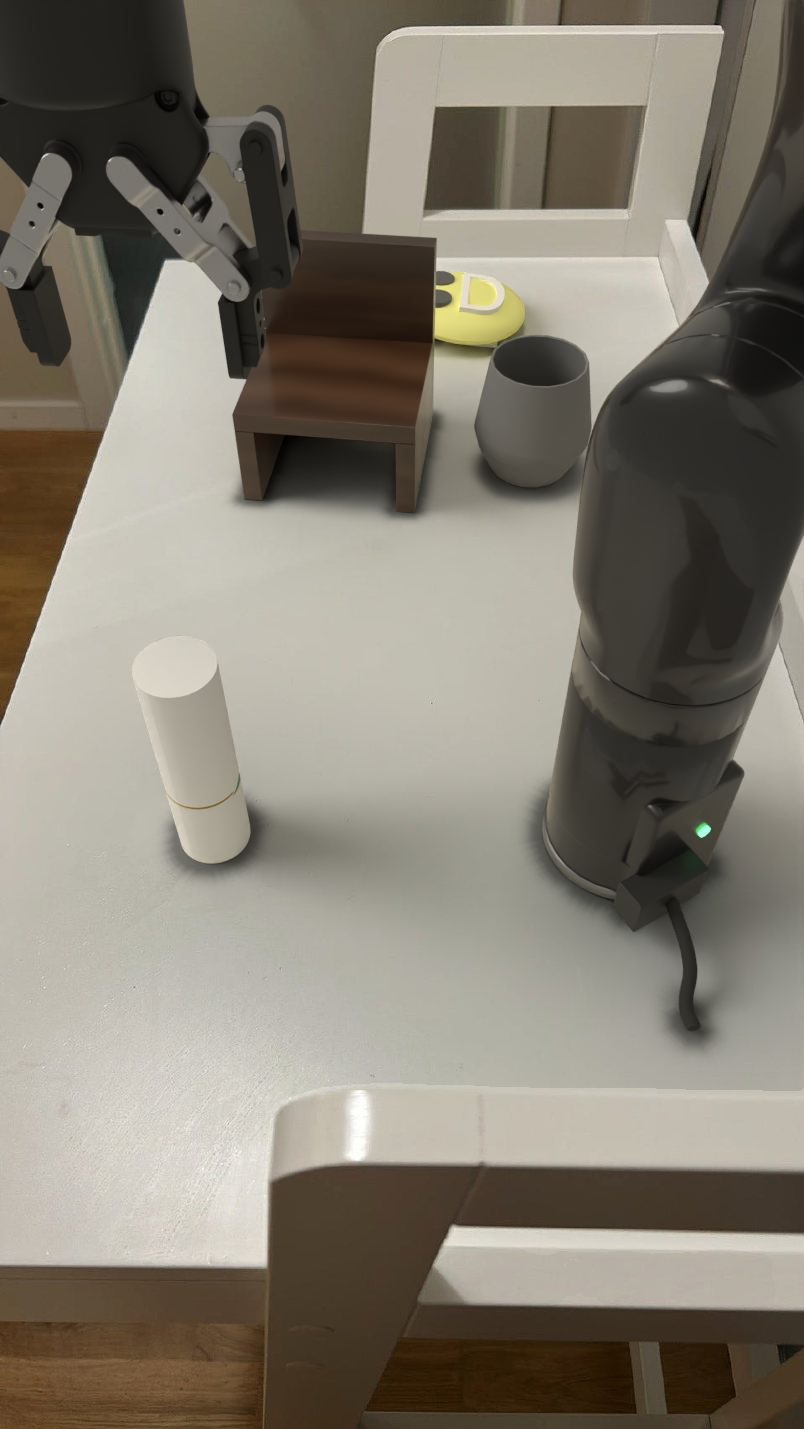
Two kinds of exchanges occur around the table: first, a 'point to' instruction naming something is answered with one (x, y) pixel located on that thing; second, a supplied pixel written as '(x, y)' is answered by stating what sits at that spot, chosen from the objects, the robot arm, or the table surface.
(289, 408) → the wooden doll chair
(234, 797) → the tube
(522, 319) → the emoji
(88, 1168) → the table surface
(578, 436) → the cup
